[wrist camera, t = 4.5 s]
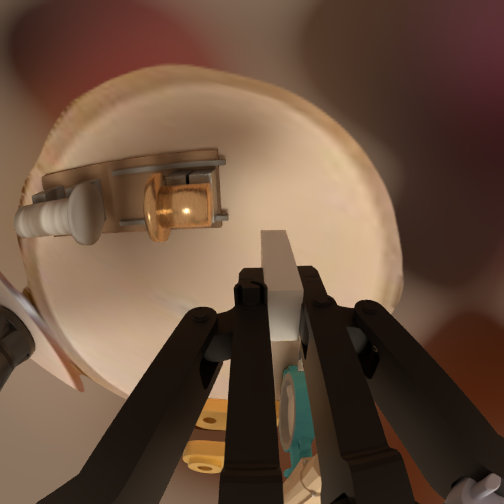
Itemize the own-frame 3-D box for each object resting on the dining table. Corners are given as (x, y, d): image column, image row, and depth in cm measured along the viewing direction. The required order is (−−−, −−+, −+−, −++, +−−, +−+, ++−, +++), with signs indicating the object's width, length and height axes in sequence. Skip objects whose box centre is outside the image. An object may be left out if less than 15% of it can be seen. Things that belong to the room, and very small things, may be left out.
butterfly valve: (296, 405, 55) (310, 524, 28) (266, 406, 55) (271, 528, 28) (326, 317, 44) (378, 490, 17) (285, 316, 44) (314, 503, 17)
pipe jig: (57, 234, 37) (15, 266, 27) (45, 175, 33) (-4, 196, 22) (229, 224, 37) (221, 265, 26) (225, 149, 33) (214, 158, 22)
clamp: (193, 416, 58) (185, 472, 43) (188, 396, 54) (178, 458, 39) (275, 419, 58) (279, 476, 44) (279, 400, 54) (285, 463, 40)
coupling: (174, 219, 35) (150, 253, 26) (169, 165, 32) (139, 181, 23) (218, 217, 35) (207, 252, 26) (215, 161, 32) (201, 175, 23)
